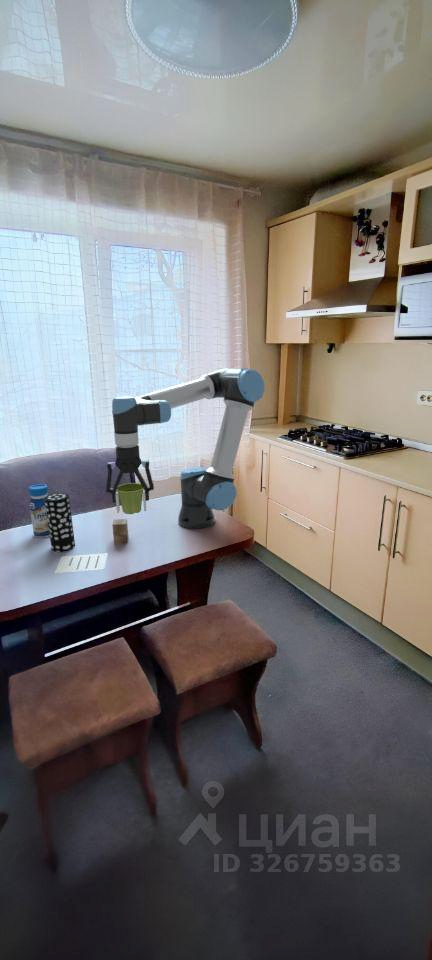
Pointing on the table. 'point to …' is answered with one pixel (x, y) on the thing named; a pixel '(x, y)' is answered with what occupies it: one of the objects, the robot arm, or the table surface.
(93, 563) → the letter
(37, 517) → the beverage bottle
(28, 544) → the table surface
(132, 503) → the plant pot
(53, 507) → the white-spotted black cylinder
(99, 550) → the table surface
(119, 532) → the block
